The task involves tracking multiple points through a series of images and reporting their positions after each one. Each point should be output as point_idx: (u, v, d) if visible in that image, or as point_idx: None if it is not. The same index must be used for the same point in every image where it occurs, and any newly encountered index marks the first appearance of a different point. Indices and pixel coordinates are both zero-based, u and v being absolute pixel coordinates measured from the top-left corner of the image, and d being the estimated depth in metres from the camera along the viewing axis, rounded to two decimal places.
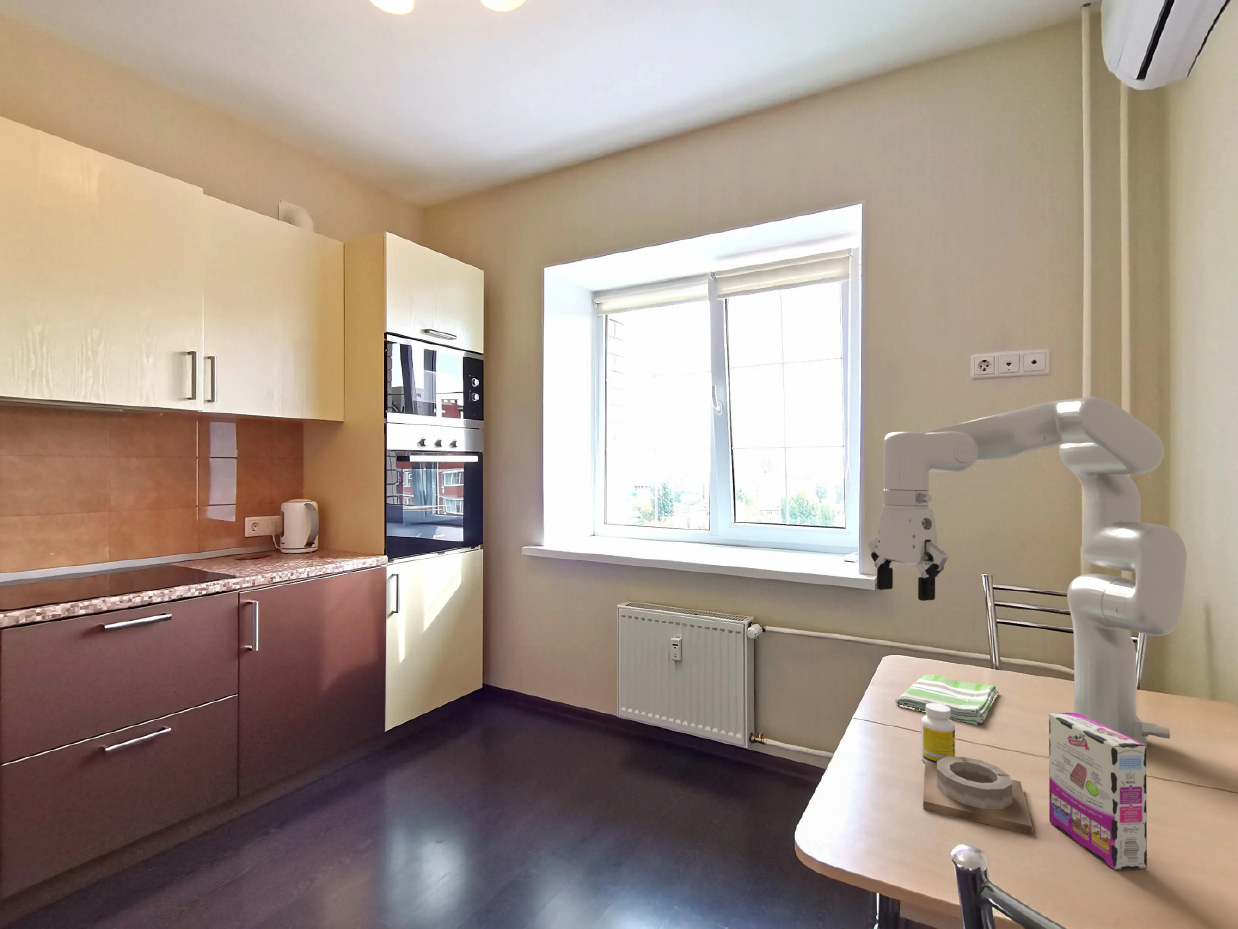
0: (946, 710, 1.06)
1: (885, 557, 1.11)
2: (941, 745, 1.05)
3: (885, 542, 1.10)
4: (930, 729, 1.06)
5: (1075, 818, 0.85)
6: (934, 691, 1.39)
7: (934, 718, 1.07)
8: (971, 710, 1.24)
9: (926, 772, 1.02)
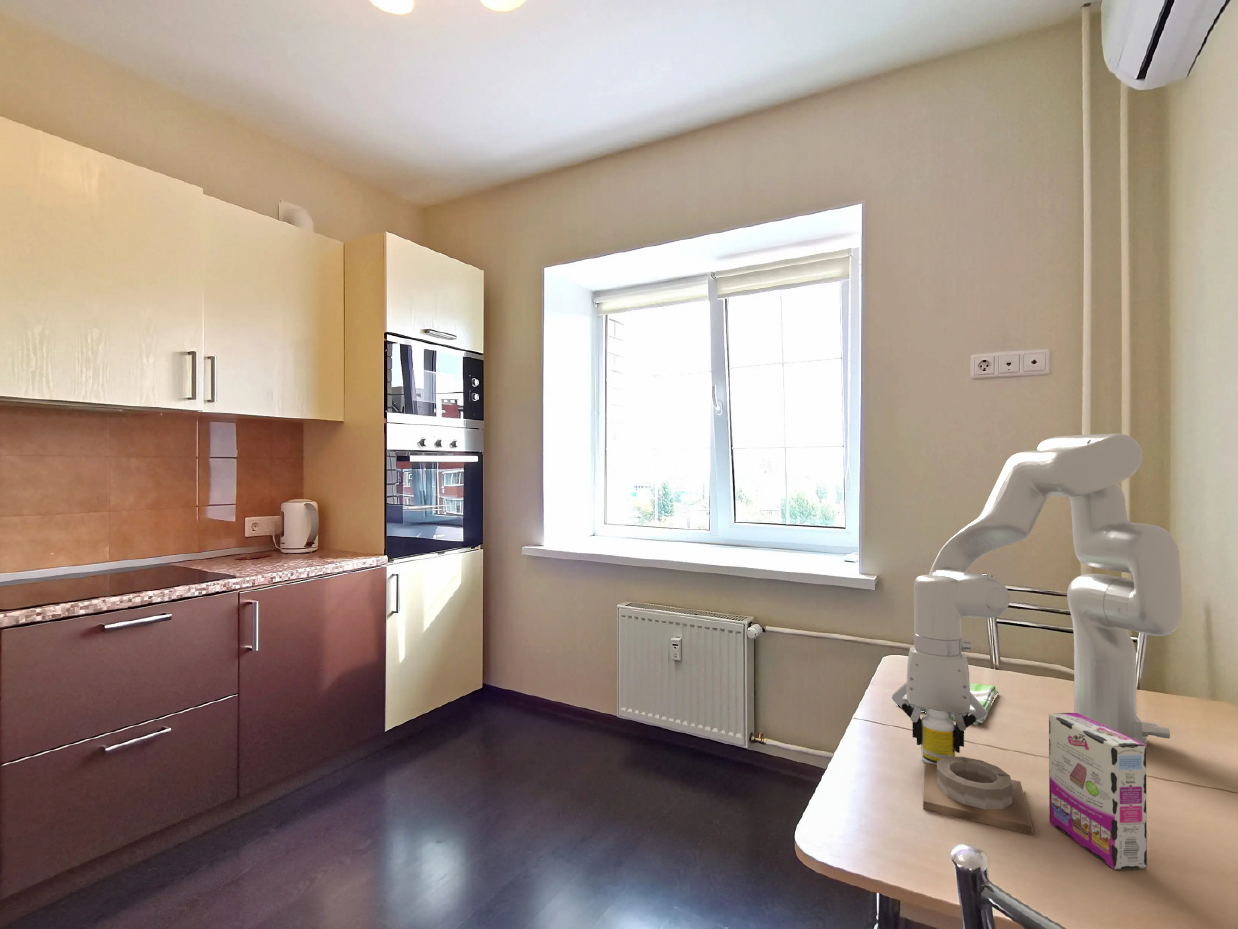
0: None
1: (921, 705, 1.07)
2: (941, 745, 1.05)
3: (922, 691, 1.07)
4: (930, 729, 1.06)
5: (1074, 818, 0.85)
6: None
7: (934, 718, 1.07)
8: (971, 710, 1.24)
9: (926, 772, 1.02)
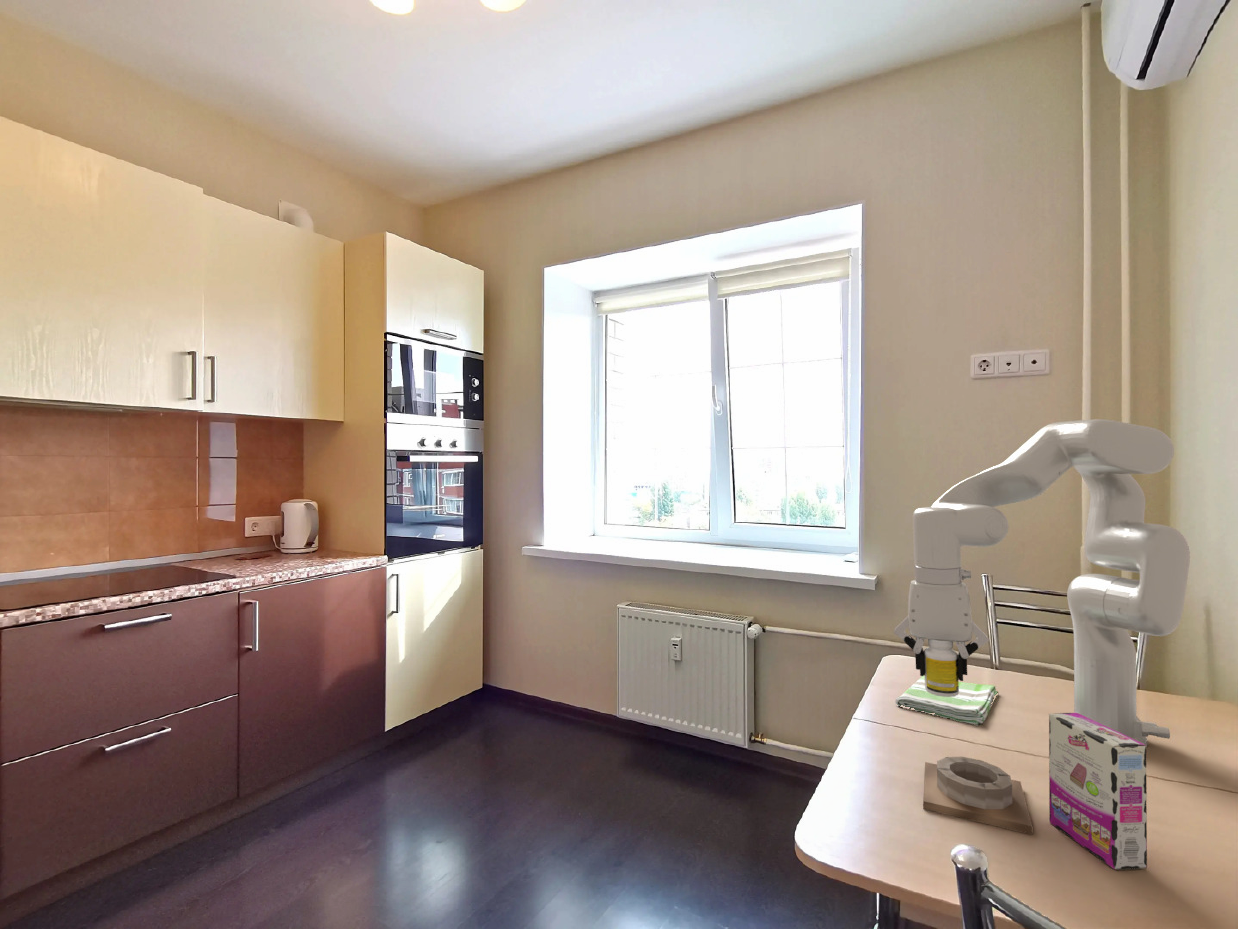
0: None
1: (923, 636, 1.08)
2: (945, 674, 1.06)
3: (924, 621, 1.07)
4: (933, 659, 1.07)
5: (1074, 818, 0.85)
6: None
7: (937, 648, 1.07)
8: (971, 710, 1.24)
9: (926, 772, 1.02)
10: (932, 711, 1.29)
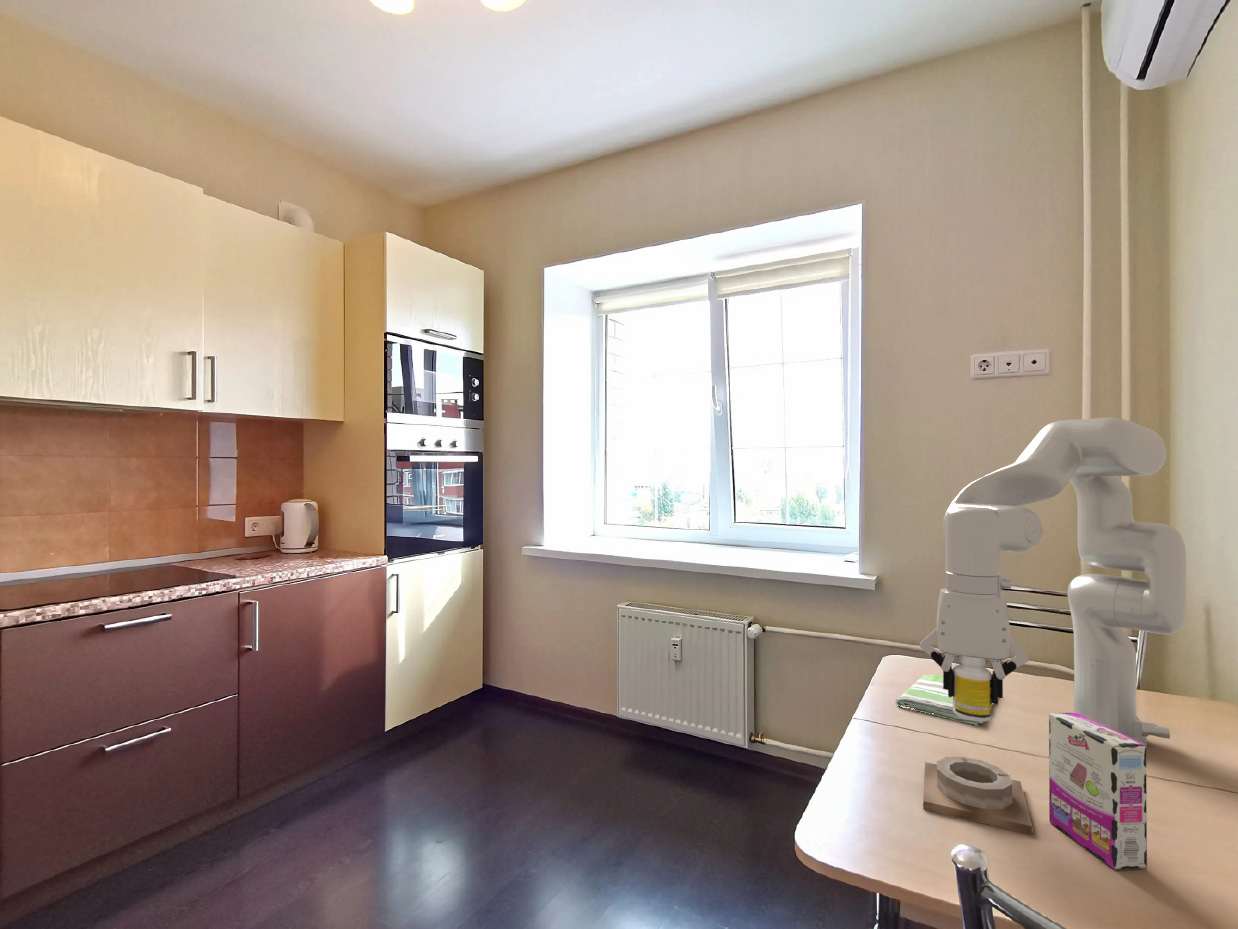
0: None
1: (953, 652, 0.95)
2: (977, 695, 0.93)
3: (955, 635, 0.95)
4: (964, 678, 0.94)
5: (1074, 818, 0.85)
6: (934, 692, 1.38)
7: (968, 666, 0.95)
8: None
9: (926, 772, 1.02)
10: (932, 711, 1.29)
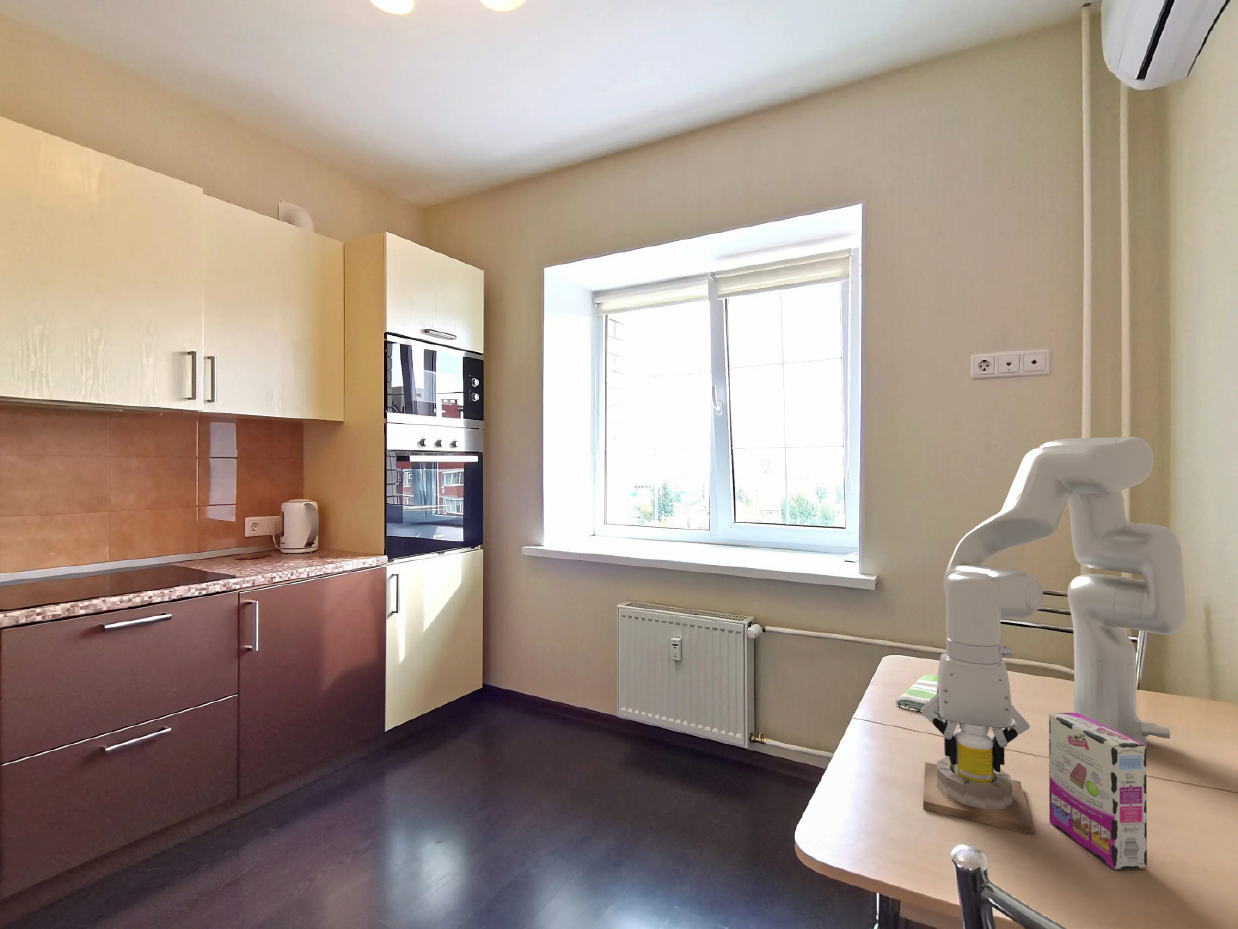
0: None
1: (956, 720, 0.95)
2: (980, 764, 0.93)
3: (958, 704, 0.95)
4: (968, 747, 0.94)
5: (1074, 818, 0.85)
6: (934, 692, 1.38)
7: (971, 734, 0.95)
8: None
9: (926, 772, 1.02)
10: None
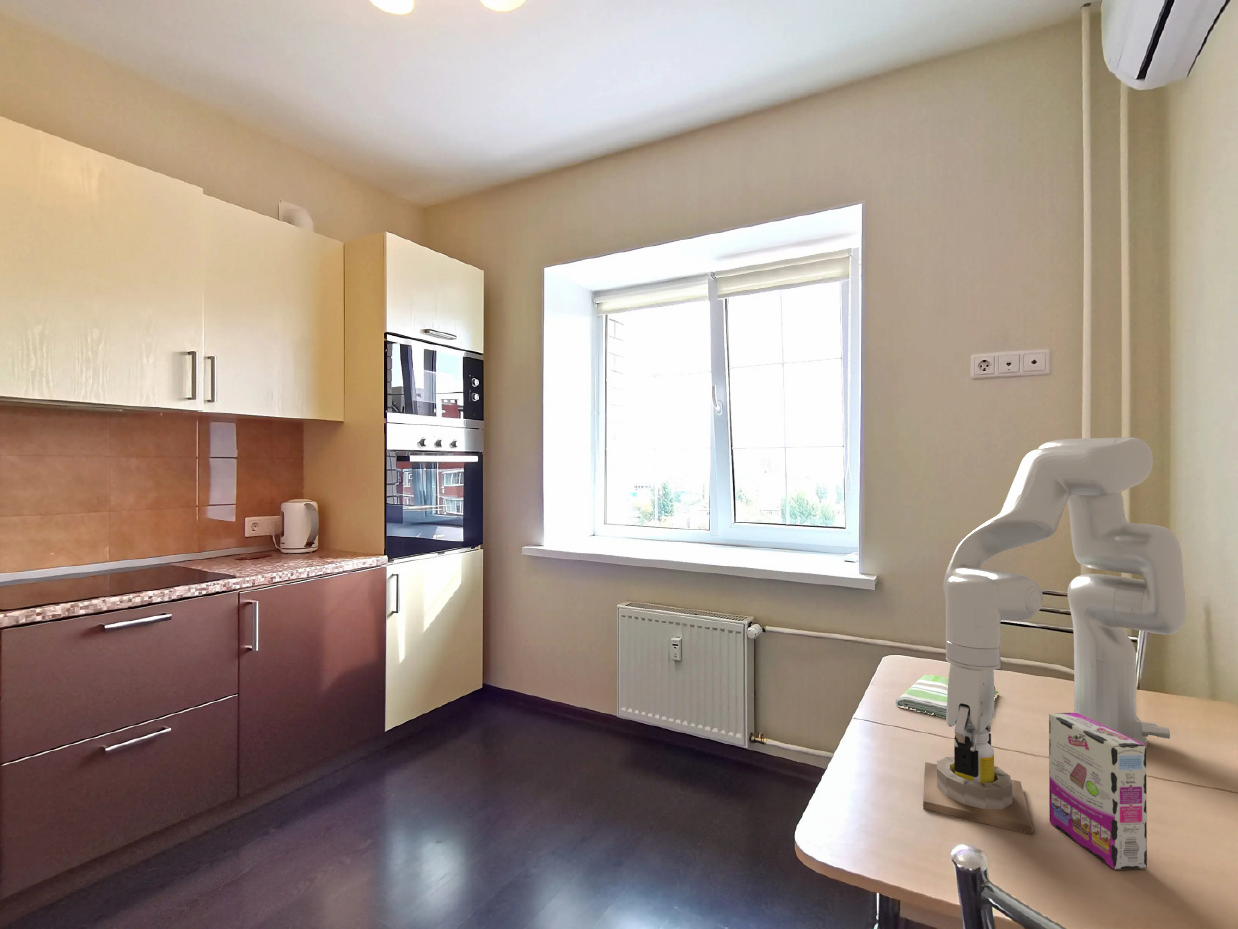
0: None
1: (983, 729, 0.93)
2: None
3: (985, 711, 0.93)
4: (990, 757, 0.94)
5: (1075, 818, 0.85)
6: (934, 692, 1.38)
7: (985, 743, 0.94)
8: None
9: (926, 772, 1.02)
10: (932, 711, 1.29)
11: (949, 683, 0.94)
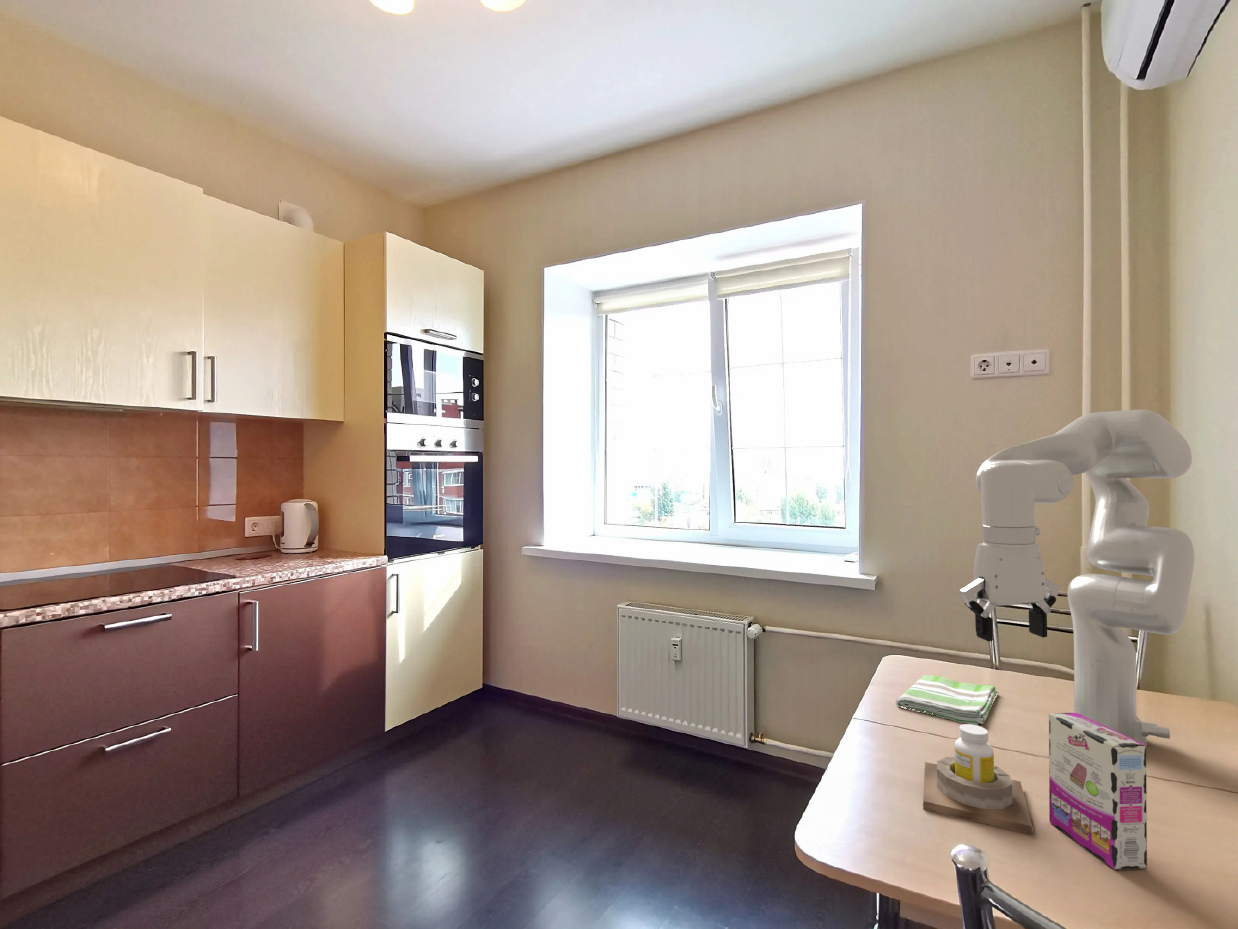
0: (983, 728, 0.96)
1: (1004, 603, 0.99)
2: (993, 768, 0.95)
3: (1007, 586, 0.99)
4: (989, 757, 0.94)
5: (1075, 818, 0.85)
6: (934, 692, 1.38)
7: (985, 742, 0.94)
8: (972, 711, 1.24)
9: (926, 772, 1.02)
10: (932, 712, 1.28)
11: (975, 559, 1.03)
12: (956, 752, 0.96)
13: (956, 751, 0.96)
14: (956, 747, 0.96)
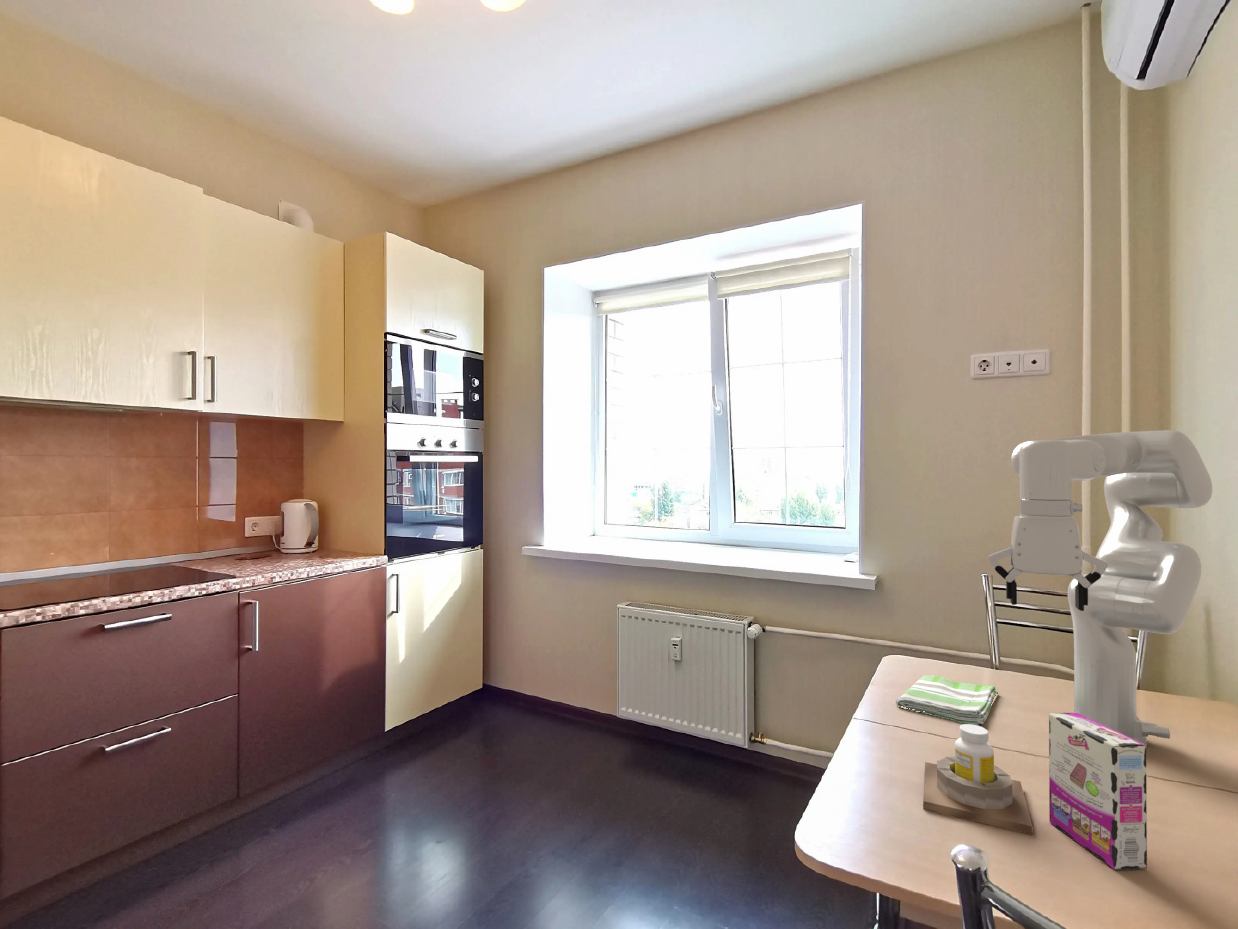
0: (983, 728, 0.96)
1: (1029, 570, 1.06)
2: None
3: (1031, 555, 1.05)
4: (990, 757, 0.94)
5: (1075, 818, 0.85)
6: (934, 692, 1.38)
7: (985, 742, 0.95)
8: (972, 711, 1.23)
9: (926, 772, 1.02)
10: (933, 712, 1.28)
11: None
12: (956, 752, 0.96)
13: (956, 751, 0.96)
14: (956, 747, 0.96)
